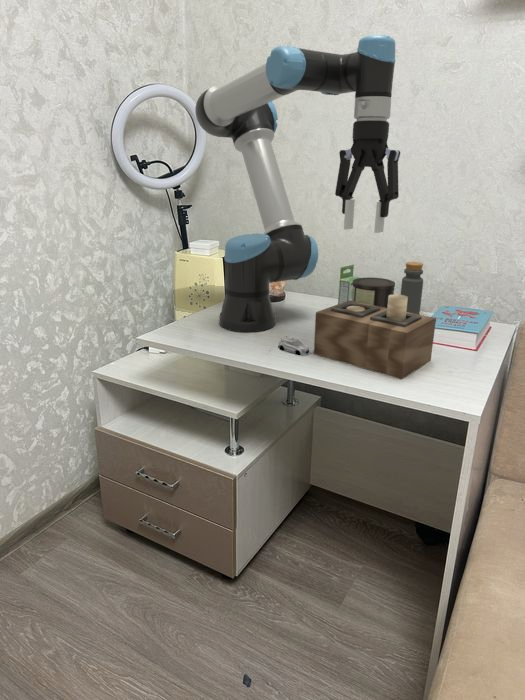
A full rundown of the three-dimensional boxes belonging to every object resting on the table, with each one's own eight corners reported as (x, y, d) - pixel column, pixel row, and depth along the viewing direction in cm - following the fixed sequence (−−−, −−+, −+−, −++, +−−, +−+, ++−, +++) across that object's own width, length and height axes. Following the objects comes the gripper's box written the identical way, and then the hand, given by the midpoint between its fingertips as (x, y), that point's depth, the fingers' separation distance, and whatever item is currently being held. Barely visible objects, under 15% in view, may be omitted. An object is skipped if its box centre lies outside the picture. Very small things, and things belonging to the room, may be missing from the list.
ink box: (348, 315, 151) (351, 269, 146) (336, 313, 154) (339, 267, 149) (361, 311, 156) (365, 266, 151) (350, 308, 158) (353, 264, 154)
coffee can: (389, 331, 138) (394, 278, 133) (390, 344, 128) (396, 287, 123) (349, 328, 140) (353, 276, 135) (347, 340, 130) (351, 284, 125)
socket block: (313, 353, 121) (315, 309, 118) (346, 339, 131) (349, 297, 128) (401, 379, 108) (407, 329, 104) (430, 360, 118) (436, 315, 114)
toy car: (303, 358, 119) (303, 345, 118) (276, 349, 124) (276, 337, 123) (313, 353, 122) (313, 341, 121) (286, 345, 127) (286, 334, 126)
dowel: (381, 337, 114) (385, 296, 111) (390, 333, 117) (393, 293, 114) (398, 341, 112) (402, 300, 109) (406, 336, 115) (411, 296, 111)
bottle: (394, 314, 153) (399, 262, 147) (406, 311, 156) (411, 260, 151) (411, 319, 148) (417, 266, 143) (423, 315, 152) (429, 263, 147)
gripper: (322, 121, 115) (317, 228, 123) (407, 117, 103) (395, 236, 111) (340, 122, 120) (335, 225, 128) (423, 119, 108) (411, 233, 116)
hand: (363, 230), depth 119 cm, fingers open, 7 cm apart
